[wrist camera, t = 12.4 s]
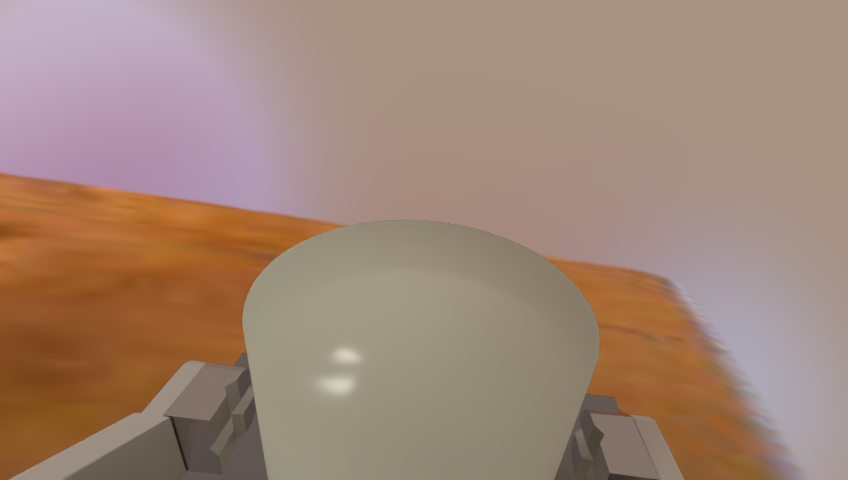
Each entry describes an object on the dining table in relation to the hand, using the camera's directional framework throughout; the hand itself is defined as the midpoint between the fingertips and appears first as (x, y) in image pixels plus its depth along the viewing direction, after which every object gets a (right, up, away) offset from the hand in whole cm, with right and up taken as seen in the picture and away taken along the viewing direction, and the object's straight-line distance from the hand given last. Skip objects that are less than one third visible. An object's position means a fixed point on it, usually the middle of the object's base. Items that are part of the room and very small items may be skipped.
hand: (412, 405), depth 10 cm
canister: (-1, -7, +3) cm, 8 cm away
